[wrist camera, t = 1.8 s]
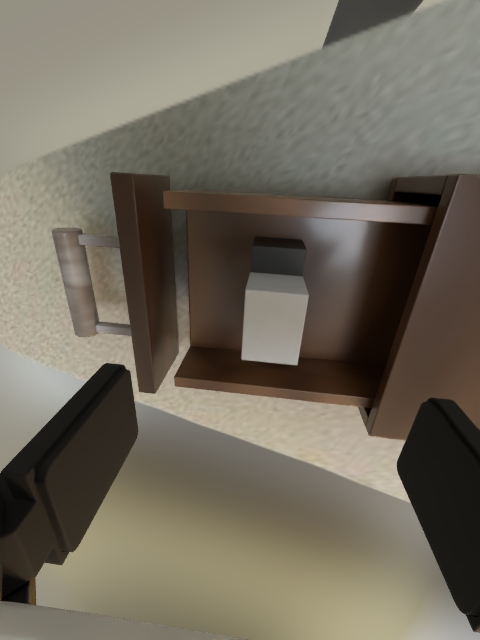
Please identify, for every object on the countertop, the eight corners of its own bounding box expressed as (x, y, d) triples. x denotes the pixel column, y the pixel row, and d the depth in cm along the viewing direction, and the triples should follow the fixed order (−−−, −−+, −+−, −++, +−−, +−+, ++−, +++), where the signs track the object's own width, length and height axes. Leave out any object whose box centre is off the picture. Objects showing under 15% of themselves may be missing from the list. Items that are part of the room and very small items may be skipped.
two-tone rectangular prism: (255, 236, 18) (247, 258, 13) (302, 239, 18) (314, 263, 13) (248, 332, 21) (239, 382, 16) (288, 336, 21) (293, 388, 16)
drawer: (108, 345, 25) (69, 384, 20) (78, 171, 19) (11, 166, 14) (389, 374, 23) (420, 424, 18) (452, 191, 17) (522, 194, 12)
